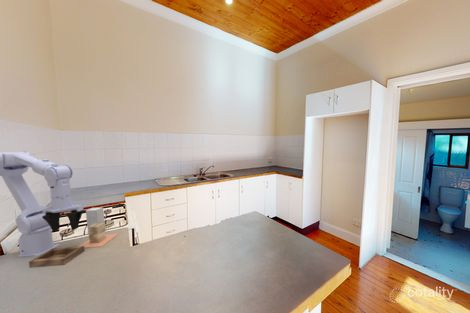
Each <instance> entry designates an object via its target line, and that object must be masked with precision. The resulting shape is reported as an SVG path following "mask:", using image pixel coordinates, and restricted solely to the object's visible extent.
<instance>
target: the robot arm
mask: <svg viewBox="0 0 470 313" xmlns="http://www.w3.org/2000/svg"><path fill="white" fill-rule="evenodd" d="M29 168H32V169H31V170H32V172H34V173H36V174H38V175H40V176H43V177H44V179H45V180H46V182H47V186H48V187H49V190H50V197H51V205H52V207H48V206H45V205H40V203H39V202H38V200H37V199H36V196H35V195H34V193H33V192H32V190H31V188H30V187H29V184H28V183H27V181H26V180H25V178H24V177H23V174H25V173H27V172H28V170H29ZM0 177H1V178H2V179H3V181H4V183H5V184H6V187H7V188H8V190H9V192H10V193H11V195H12V197H13V199H14V200H15V203H16V204H17V206H18V207H19V210H20V211H21V212H20V213H19V215H18V216H16V218H15V222H16V227H17V230H18V232H19V233H21V234H20V236H19V237H18V247H19V255H17V257H31V256H40V255H42V254H44V253H46V252H48V251H49V250H51V249H54V248H57V247H58V246H60V243H56V244H55V243H54V238H53V232H56V231H59V230H60V217H61V213H66V216H67V218H68V220H69V224H70V229H71V230H72V231H75V230H78V228H79V225H80V219H81V217H82V214H83V213H84V205H83V204H73V198H72V190H71V182H70V179H71V178H72V177H73V169H72V168H71V166H69V165H67V164H64V165H60V164H58V163H57V162H56V163H54V162H52V161H50V159H48V158H44V159H43V158H42V159H38V158H36V157H34V156H33V155H32V153H31V152H28V151H15V152H14V151H12V152H10V151H9V152H6V151H5V152H0Z"/></svg>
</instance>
